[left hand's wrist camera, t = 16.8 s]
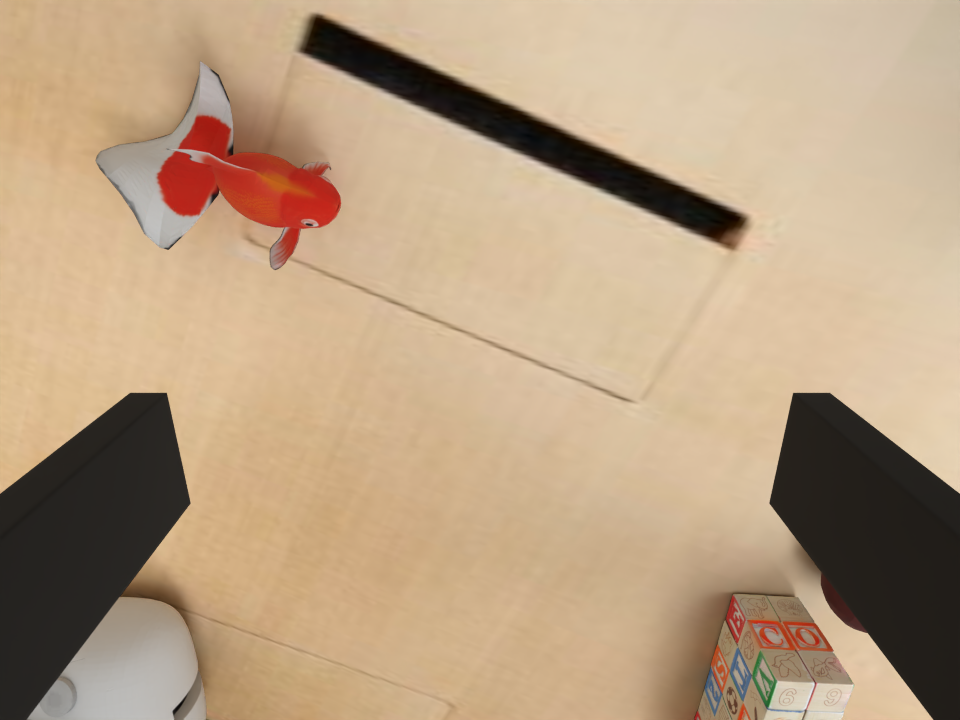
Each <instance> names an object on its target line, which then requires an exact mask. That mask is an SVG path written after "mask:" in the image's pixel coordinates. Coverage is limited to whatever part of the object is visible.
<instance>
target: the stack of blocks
mask: <svg viewBox="0 0 960 720" xmlns="http://www.w3.org/2000/svg"><path fill="white" fill-rule="evenodd" d="M833 651H834V650H833V649H832V647H831V646H830V644H829V643H828V641H827V639H826V638H825V636H824V635H823V633H822V632H821V631H820V629H819V627H818V626H817V625H816V624H815V623H814V620H813V619H812V617H811V616H810V615H809V613H808V611H807V610H806V609H805V607H804V606H803V604H802V603H801V601H800V600H799V598H797V597H784V596H765V595H749V594H733V596H732V599H731V603H730V606H729V610H728V613H727V617H726V620H725V621H724V623H723V627H722V630H721V633H720V637H719V640H718V644H717V647H716V650H715V653H714V656H713V659H712V663H711V668H710V672H709V675H708V678H707V682H706V685H705V690H704V692H703V696H702V699H701V702H700V706H699V709H698V711H697V713H696V716H695V719H694V720H841V719H842V716H843V714H844V709H845V707H846V705H847V702H848V700H849V698H850V695H851V692H852V690H853V688H854V684H853V682H852V680H851V679H850V677H849V675H848V674H847V672H846V671H845V669H844V668H843V666H842V665H841V663H840V662H839V660H838V659H837V657H836V656H835V654H834V653H833Z"/></svg>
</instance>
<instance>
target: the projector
mask: <svg viewBox="0 0 960 720" xmlns="http://www.w3.org/2000/svg"><path fill="white" fill-rule="evenodd" d="M27 720H206V699H205V693H204V687H203V683H202V678H201V675H200V672H199V670H198V660H197V656H196V652H195V648H194V644H193V641H192V638H191V635H190V632H189V629H188V627H187V625H186V623H185V621H184V619H183V618H182V616H181V615H180V613H179V612H178V611H177V610H176V609H174V608H173V607H172V606H170V605H169V604H166V603H164V602H161V601H157V600H153V599H146V598H135V597H119V598H118V600H117V601H116V602H115V604H114V605H113V606H112V608H111V609H110V610H109V612H108V613H107V614H106V616H105V617H104V618H103V620H102V621H101V622H100V623H99V625H98V626H97V627H96V629H95V630H94V631H93V633H92V634H91V635H90V637H89V638H88V639H87V641H86V642H85V643H84V645H83V646H82V647H81V649H80V650H79V651H78V653H77V654H76V655H75V656H74V658H73V659H72V660H71V662H70V663H69V664H68V666H67V667H66V668H65V670H64V671H63V672H62V674H61V675H60V676H59V678H58V679H57V680H56V682H55V683H54V684H53V685H52V687H51V688H50V689H49V691H48V692H47V693H46V695H45V696H44V697H43V699H42V700H41V701H40V703H39V704H38V705H37V707H36V708H35V709H34V711H33V712H32V713H31V715H30V716H29V717H28V718H27Z"/></svg>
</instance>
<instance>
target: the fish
mask: <svg viewBox="0 0 960 720" xmlns="http://www.w3.org/2000/svg"><path fill="white" fill-rule="evenodd" d="M96 163H97V165H98V166H99V168H100V170H101V171H102V172H103V173H104V174H105V176H106V177H107V178H108V179H109V180H110V182H111V183H112V184H113V185H114V186H115V188H116V189H117V190H118V191H119V193H120V194H121V195H122V197H123V198H124V200H125V201H126V203H127V204H128V205H129V207H130V208H131V210H132V211H133V213H134V214H135V216H136V218H137V220H138V222H139V224H140V226H141V228H142V230H143V232H144V234H145V235H146V236H147V237H149V238H150V239H151V240H152V241H153V242H154V243H155V244H156V245H158V246H159V247H160V248H164V249H167V250H169V249H170V248H171V247H172V246H173V245H174V244H175V243H176V242H177V241H178V240H179V239H180V238H181V237H182V236H183V235H184V234H185V233H186V232H187V231H188V230H189V229H190V228H191V227H192V226H193V225H194V224H195V223H196V221H197V220H198V219H199V218H200V217H201V215H202V214H203V213H204V212H205V211H206V209H207V208H208V207H209V206H210V204H211V203H212V202H213V201H214V199H215V198H216V197H217V196H218V194H219V190H220V191H221V193H222V194H223V196H224V197H225V199H226V200H227V201H228V202H229V203H230V204H231V205H232V207H233V208H235V209H236V210H237V211H238V212H239V213H241V214H242V215H244V216H245V217H247V218H249V219H251V220H253V221H255V222H258V223H260V224H263V225H267V226H271V227H285V228H284V229H283V232H282V234H281V237H280V238H279V239H278V241H277V242H276V243H275V244H274V245H273V246H272V247H271V249H270V265H271V267H272V268H273V269H274V270H277V269H279V268H280V267H282V266H283V265H284V264H285V263H286V261H287V259H288V258H289V257H290V256H291V255H292V254H293V252H294V250H295V248H296V245H297V243H298V240H299V235H300V230H301V229H305V228H319V227H323V226H326V225H327V224H329V223H330V222H331V221H332V220H334V219H335V218H336V216H337V214H338V213H339V211H340V206H341V199H340V195H339V193H338V191H337V190H336V188H335V187H334V186H333V185H332V183H331V182H330V180H328V179H327V178H326V177H324V176H322V174H323V173H324V172H325V170H326V169H327V168H328V167H329V168H330V164H329V163H325V162H313V163H308V164H305V165H304V166H303V168H300V169H298V168H296V167H295V166H293V165H292V164H290V163H289V162H287V161H285V160H284V159H281V158H279V157H276V156H273V155H269V154H263V153H238V154H234V155H233V121H232V113H231V107H230V102H229V99H228V96H227V94H226V91H225V89H224V87H223V84H222V82H221V79H220V77H219V75H218V74H217V73H215V72H214V71H213V70H211V69H210V68H209V67H208V66H206V65H205V64H204V63H202V62H201V61H200V73H199V77H198V81H197V84H196V88H195V91H194V95H193V98H192V101H191V103H190V105H189V108H188V110H187V112H186V114H185V117H184V119H183V120H182V121H181V123H180V124H179V125H178V127H177V128H176V129H175V131H174V132H173V133H172V134H169V135H166V136H163V137H160V138H156V139H153V140H149V141H145V142H137V143H128V144H122V145H117V146H114V147H111V148H108V149H105V150H103V151H101V152H100V153H99V154H98V155H97V158H96ZM330 170H331V168H330Z"/></svg>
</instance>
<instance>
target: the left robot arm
mask: <svg viewBox="0 0 960 720" xmlns="http://www.w3.org/2000/svg"><path fill="white" fill-rule="evenodd" d="M189 505H190V498H189V494H188V489H187V484H186V480H185V475H184V471H183V466H182V461H181V457H180V452H179V447H178V443H177V438H176V433H175V429H174V424H173V420H172V415H171V410H170V406H169V401H168V396H167V393H130V394H128V395H127V396H126V397H124V398H123V399H122V400H120V401H119V402H118V403H117V404H115V405H114V406H113V407H111V408H110V409H109V410H108V411H106V412H105V413H104V414H102V415H101V416H100V417H99V418H97V419H96V420H95V421H93V422H92V423H91V424H90V425H88V426H87V427H86V428H84V429H83V430H82V431H81V432H79V433H78V434H77V435H75V436H74V437H73V438H72V439H70V440H69V441H68V442H66V443H65V444H64V445H63V446H61V447H60V448H59V449H57V450H56V451H55V452H53V453H52V454H51V455H50V456H48V457H47V458H46V459H44V460H43V461H42V462H41V463H39V464H38V465H37V466H35V467H34V468H33V469H32V470H30V471H29V472H28V473H26V474H25V475H24V476H23V477H21V478H20V479H19V480H17V481H16V482H15V483H14V484H12V485H11V486H10V487H8V488H7V489H6V490H5V491H3V492H2V493H1V494H0V720H27V718H28V717H29V716H30V715H31V713H32V712H33V711H34V709H35V708H36V707H37V705H38V704H39V703H40V701H41V700H42V699H43V697H44V696H45V695H46V693H47V692H48V691H49V689H50V688H51V687H52V685H53V684H54V683H55V682H56V680H57V679H58V678H59V676H60V675H61V674H62V672H63V671H64V670H65V668H66V667H67V666H68V664H69V663H70V662H71V660H72V659H73V658H74V656H75V655H76V654H77V653H78V651H79V650H80V649H81V647H82V646H83V645H84V643H85V642H86V641H87V639H88V638H89V637H90V635H91V634H92V633H93V631H94V630H95V629H96V627H97V626H98V625H99V623H100V622H101V621H102V620H103V618H104V617H105V616H106V614H107V613H108V612H109V610H110V609H111V608H112V606H113V605H114V604H115V602H116V601H117V600H118V598H119V597H120V596H121V594H122V593H123V592H124V590H125V589H126V588H127V587H128V585H129V584H130V583H131V581H132V580H133V579H134V577H135V576H136V575H137V573H138V572H139V571H140V569H141V568H142V567H143V565H144V564H145V563H146V561H147V560H148V559H149V558H150V556H151V555H152V554H153V552H154V551H155V550H156V548H157V547H158V546H159V544H160V543H161V542H162V540H163V539H164V538H165V536H166V535H167V534H168V532H169V531H170V530H171V528H172V527H173V526H174V525H175V523H176V522H177V521H178V519H179V518H180V517H181V515H182V514H183V513H184V511H185V510H186V509H187V507H188V506H189ZM770 505H771V506H772V507H773V509H774V510H775V511H776V513H777V514H778V515H779V517H780V518H781V519H782V521H783V522H784V523H785V525H786V526H787V527H788V528H789V530H790V531H791V532H792V534H793V535H794V536H795V538H796V539H797V540H798V542H799V543H800V544H801V546H802V547H803V548H804V550H805V551H806V552H807V554H808V555H809V556H810V558H811V559H812V560H813V561H814V563H815V564H816V565H817V567H818V568H819V569H820V571H821V572H822V573H823V575H824V576H825V577H826V579H827V580H828V581H829V583H830V584H831V585H832V587H833V588H834V589H835V590H836V592H837V593H838V594H839V596H840V597H841V598H842V600H843V601H844V602H845V604H846V605H847V606H848V608H849V609H850V610H851V612H852V613H853V614H854V616H855V617H856V618H857V620H858V621H859V622H860V623H861V625H862V626H863V627H864V629H865V630H866V631H867V633H868V634H869V635H870V637H871V638H872V639H873V641H874V642H875V643H876V645H877V646H878V647H879V649H880V650H881V651H882V653H883V654H884V655H885V656H886V658H887V659H888V660H889V662H890V663H891V664H892V666H893V667H894V668H895V670H896V671H897V672H898V674H899V675H900V676H901V678H902V679H903V680H904V682H905V683H906V684H907V685H908V687H909V688H910V689H911V691H912V692H913V693H914V695H915V696H916V697H917V699H918V700H919V701H920V703H921V704H922V705H923V707H924V708H925V709H926V711H927V712H928V713H929V715H930V716H931V717H932V718H933V720H960V494H959V493H958V492H957V491H955V490H954V489H953V488H952V487H950V486H949V485H948V484H946V483H945V482H944V481H943V480H941V479H940V478H939V477H937V476H936V475H935V474H934V473H932V472H931V471H930V470H928V469H927V468H926V467H925V466H923V465H922V464H921V463H919V462H918V461H917V460H916V459H914V458H913V457H912V456H910V455H909V454H908V453H907V452H905V451H904V450H903V449H901V448H900V447H899V446H897V445H896V444H895V443H894V442H892V441H891V440H890V439H888V438H887V437H886V436H885V435H883V434H882V433H881V432H879V431H878V430H877V429H876V428H874V427H873V426H872V425H870V424H869V423H868V422H867V421H865V420H864V419H863V418H861V417H860V416H859V415H858V414H856V413H855V412H854V411H852V410H851V409H850V408H849V407H847V406H846V405H845V404H843V403H842V402H841V401H840V400H838V399H837V398H836V397H834V396H833V395H832V394H830V393H793V396H792V401H791V406H790V410H789V415H788V420H787V424H786V429H785V433H784V438H783V443H782V447H781V452H780V457H779V461H778V466H777V470H776V475H775V480H774V484H773V489H772V494H771V498H770Z"/></svg>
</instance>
